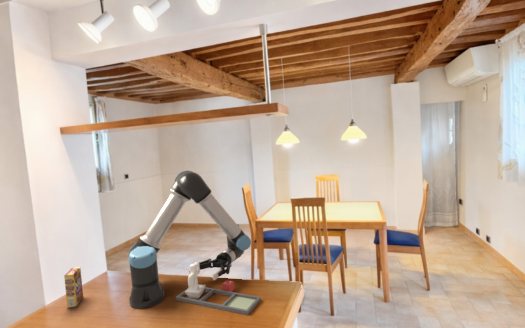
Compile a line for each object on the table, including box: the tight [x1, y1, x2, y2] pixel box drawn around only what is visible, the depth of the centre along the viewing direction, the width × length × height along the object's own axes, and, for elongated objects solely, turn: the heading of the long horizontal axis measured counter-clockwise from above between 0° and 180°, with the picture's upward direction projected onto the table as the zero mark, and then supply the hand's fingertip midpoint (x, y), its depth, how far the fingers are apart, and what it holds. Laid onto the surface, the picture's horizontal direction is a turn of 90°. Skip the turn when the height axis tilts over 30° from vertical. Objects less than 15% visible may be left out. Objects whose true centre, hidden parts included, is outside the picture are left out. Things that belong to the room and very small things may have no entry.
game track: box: [175, 286, 262, 316], centre depth 138 cm, size 37×12×2 cm, turn 64°
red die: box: [221, 279, 235, 292], centre depth 146 cm, size 4×4×4 cm
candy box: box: [63, 266, 84, 309], centre depth 145 cm, size 9×4×15 cm, turn 12°
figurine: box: [184, 261, 206, 300], centre depth 143 cm, size 7×9×15 cm
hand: (201, 275), depth 147 cm, fingers open, 13 cm apart
